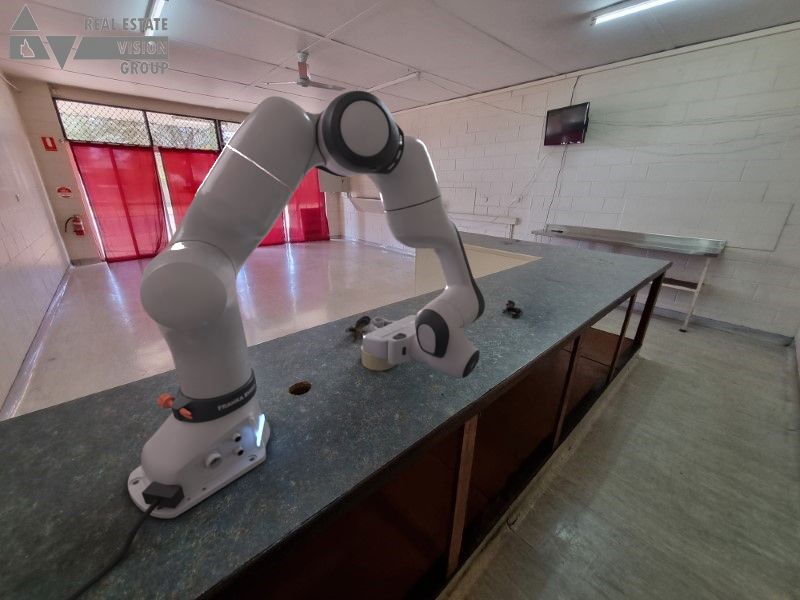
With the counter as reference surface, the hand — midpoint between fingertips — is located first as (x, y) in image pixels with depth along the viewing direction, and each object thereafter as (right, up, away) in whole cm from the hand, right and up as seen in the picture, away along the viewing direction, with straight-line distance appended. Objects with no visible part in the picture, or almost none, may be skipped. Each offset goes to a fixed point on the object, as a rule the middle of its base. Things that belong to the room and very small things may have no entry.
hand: (376, 324), depth 87 cm
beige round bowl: (0, -11, +3) cm, 11 cm away
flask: (0, -8, +2) cm, 8 cm away
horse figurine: (+49, +1, +37) cm, 61 cm away
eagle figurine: (-7, -5, +17) cm, 20 cm away
